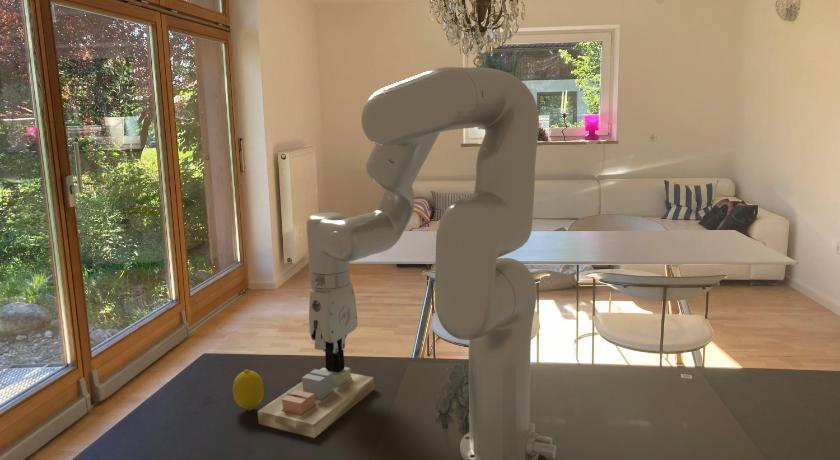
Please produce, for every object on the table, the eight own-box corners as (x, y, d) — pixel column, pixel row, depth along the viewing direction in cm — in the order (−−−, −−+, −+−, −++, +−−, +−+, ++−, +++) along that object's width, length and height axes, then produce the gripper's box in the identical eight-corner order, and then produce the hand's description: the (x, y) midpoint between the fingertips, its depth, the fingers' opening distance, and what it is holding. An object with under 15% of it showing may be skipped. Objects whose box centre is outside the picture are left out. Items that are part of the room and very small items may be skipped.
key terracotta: (317, 416, 115) (315, 393, 114) (303, 427, 111) (301, 403, 111) (296, 411, 117) (294, 389, 116) (282, 421, 113) (280, 398, 113)
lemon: (257, 418, 115) (253, 377, 114) (229, 416, 117) (225, 375, 115) (270, 404, 121) (267, 364, 119) (243, 402, 122) (239, 362, 120)
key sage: (351, 388, 126) (350, 367, 125) (340, 397, 122) (338, 375, 121) (334, 385, 127) (333, 364, 126) (322, 393, 124) (321, 372, 123)
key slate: (333, 394, 120) (332, 371, 119) (321, 403, 116) (320, 380, 116) (316, 390, 122) (314, 368, 121) (303, 399, 118) (302, 376, 117)
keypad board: (374, 389, 126) (373, 377, 125) (314, 438, 108) (313, 424, 108) (323, 378, 131) (322, 367, 130) (258, 423, 113) (257, 410, 113)
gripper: (323, 292, 112) (329, 389, 116) (367, 270, 125) (371, 358, 129) (289, 287, 115) (296, 381, 119) (335, 266, 128) (340, 352, 132)
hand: (335, 369), depth 124 cm, fingers closed
